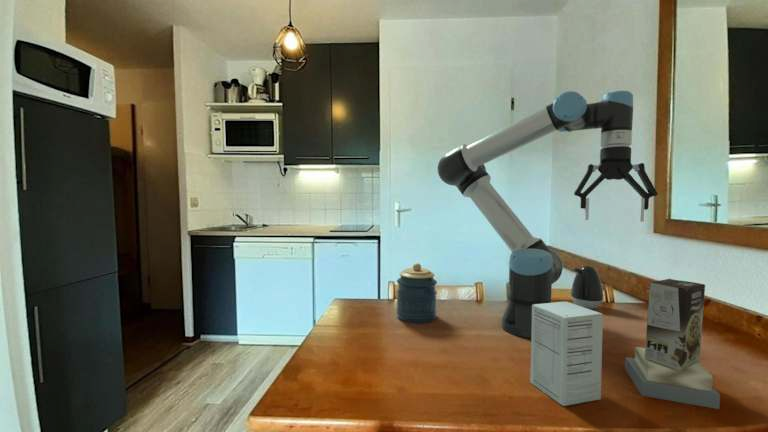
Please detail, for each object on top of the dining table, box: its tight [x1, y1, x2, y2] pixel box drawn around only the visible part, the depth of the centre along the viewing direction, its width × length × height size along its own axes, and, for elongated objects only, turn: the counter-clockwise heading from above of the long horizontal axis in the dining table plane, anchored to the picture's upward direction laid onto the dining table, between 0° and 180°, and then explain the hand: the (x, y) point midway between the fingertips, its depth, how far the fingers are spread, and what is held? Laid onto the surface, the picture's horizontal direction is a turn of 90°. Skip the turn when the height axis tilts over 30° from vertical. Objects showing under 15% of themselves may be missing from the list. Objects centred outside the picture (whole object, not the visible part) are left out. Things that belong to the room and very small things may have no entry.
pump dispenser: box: [570, 264, 604, 310], centre depth 128 cm, size 10×10×15 cm
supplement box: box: [529, 301, 604, 407], centre depth 71 cm, size 10×9×17 cm
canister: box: [396, 262, 438, 324], centre depth 115 cm, size 13×13×18 cm
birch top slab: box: [634, 346, 714, 391], centre depth 73 cm, size 10×10×3 cm
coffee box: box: [644, 278, 706, 371], centre depth 72 cm, size 9×6×16 cm
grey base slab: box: [624, 356, 721, 410], centre depth 73 cm, size 12×12×4 cm
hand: (612, 220), depth 103 cm, fingers open, 13 cm apart
